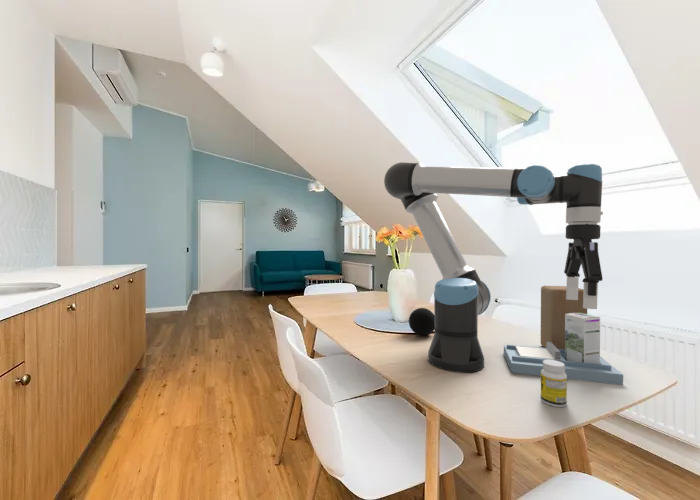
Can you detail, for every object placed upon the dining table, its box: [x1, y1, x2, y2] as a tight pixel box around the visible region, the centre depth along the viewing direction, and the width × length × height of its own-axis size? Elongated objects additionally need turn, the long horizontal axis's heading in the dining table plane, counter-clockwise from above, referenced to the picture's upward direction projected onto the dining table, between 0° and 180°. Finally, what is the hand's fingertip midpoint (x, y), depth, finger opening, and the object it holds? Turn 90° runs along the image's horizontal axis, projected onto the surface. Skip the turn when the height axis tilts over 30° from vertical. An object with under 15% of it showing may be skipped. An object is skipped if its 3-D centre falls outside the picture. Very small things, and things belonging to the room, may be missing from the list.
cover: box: [515, 342, 561, 360], centre depth 90 cm, size 10×9×3 cm
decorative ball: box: [408, 307, 435, 336], centre depth 121 cm, size 10×10×10 cm
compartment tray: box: [503, 343, 624, 386], centre depth 89 cm, size 24×16×4 cm, turn 71°
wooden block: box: [540, 285, 588, 349], centre depth 103 cm, size 10×10×20 cm
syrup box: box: [565, 313, 601, 364], centre depth 87 cm, size 6×6×14 cm
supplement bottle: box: [540, 360, 568, 408], centre depth 69 cm, size 5×5×8 cm
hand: (580, 304), depth 87 cm, fingers open, 13 cm apart
